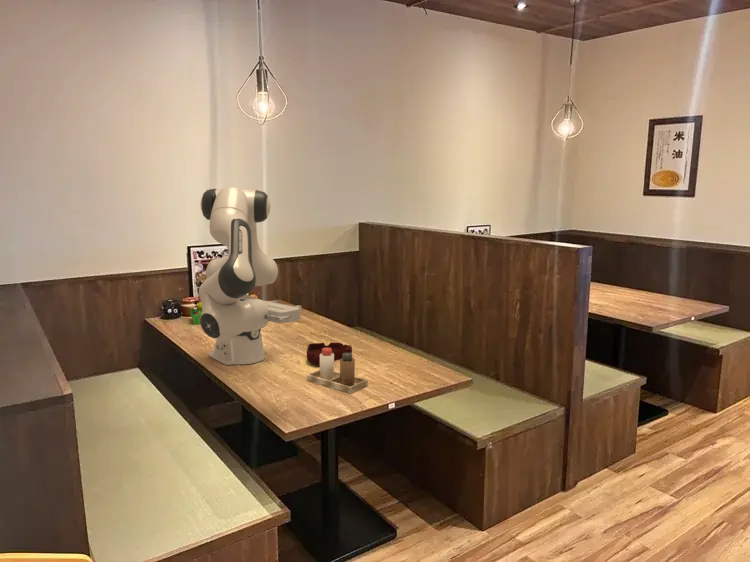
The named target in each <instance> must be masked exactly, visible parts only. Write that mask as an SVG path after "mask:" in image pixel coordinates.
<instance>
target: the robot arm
mask: <svg viewBox="0 0 750 562" xmlns="http://www.w3.org/2000/svg"><path fill="white" fill-rule="evenodd" d="M200 209H201V214H202V215H203V216H202V217H204V218H205V219H206V220H208V221H209V234H210V235H211V237H212V238H213V240H215V241H216V242H217V243H219V244H221V245H224V246H225V247H226V248H227V249H228V256H227V257H219V258H216V259H215V258H214V259H211V261H209V262H208V264H207V266H206V270H205V275H206V278H207V279H206V280H204V281H203V282H202V283H201V284H200V286H199V287H198V298H199V302H201V303H202V315H201V317H200V324H199V325H200V326H201V329H202V331H203V332H204V334H205V335H207V336H208V337H209V338H213V339H216V340H215V342H214V344H215V345H214V350H211V351H210V352H209V353H208V357H210V358H212V359H214V360H215V361H217V362H218V363H222V364H223V365H225V366H234V365H250V364H255V363H259V362H261V361H263V360H264V359H265V358H266V355H265V354H266V350H265V349H264V343H263V337H262V333H261V331H262V329H264V328H265V327H266V326H267V324H268V323H269V322H272V323H276V324H289V323H294V322H297V321H300V319H301V312H302V311H303V310H302V305H299V304H298V305H294V306H292V305H288V304H283V303H280V301H278V300H274V301H271V300H270V301H269V300H263V299H260V298H255V297H253V296H252V295H250V294H249V293H252V291H253V290H254V288H255V287H263V286H267V285H271V284H273V283H274V282H276V280H277V278H278V275H279V267H278V265H277V263H276V261H275V260H274V259H273V258H272V257H270V256H268V255H266V254H265V253H264V251H262V249H261V247H260V245H259V241H258V231H257V223H261V222H265V221H266V220H267V219H268V217H269V216H270V215H269V214H270V212H271V202H270V199H269V195H268V194H267V193H266V192H265V191H262V190H258V189H256V190H252V189H247V188H239V187H235V186H225V187H223V188H219V189H217V188H211V189H210V188H209V189H207V190H205V191H204V192H203V193H202V197H201V199H200Z"/></svg>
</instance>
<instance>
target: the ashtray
mask: <svg viewBox="0 0 750 562" xmlns="http://www.w3.org/2000/svg"><path fill="white" fill-rule="evenodd" d="M326 347H328V348H332V353H333V354H334V362H335V361H338V360H339V361H340V359H342V354H343V353H352V354H353V348H352V345H349V344H346V343H345V344H343V343H341V342H329V344H328V345H326V344H325V343H324V342H311V343H309V344H308V345H307V348H306V358H307V361H308V362H310V363H311V364H314V365H315V366H317V367H318V368H320V354H321V353H322V348H326Z"/></svg>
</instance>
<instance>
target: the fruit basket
mask: <svg viewBox="0 0 750 562" xmlns="http://www.w3.org/2000/svg"><path fill="white" fill-rule="evenodd" d="M201 315H202V303H201V301H199V302H198V304H197V308H193V309H190V317H191V320H192V322H193V324H194V326H195V325H201V324H200V317H201Z"/></svg>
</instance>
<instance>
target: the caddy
mask: <svg viewBox="0 0 750 562" xmlns="http://www.w3.org/2000/svg"><path fill="white" fill-rule="evenodd" d="M306 382H310V383H313V384H316V385H319V386H323V387H326V388H329V389H332V390H335V391H339V392H343V393H345V394H349V395H351V394H354V393H355V392H358V391H360V390H362V389H364V388H366V387H368V386H369V385H368V383H369V380H368V379H365V378H362V377H359V376H355V385H353V386H346V385H343V384H340V371H337V370H334V378H333V379H331V380H326V379H322V378H320V369H318V370H316V371H313V372H311V373H309V374H308V373H307V374H306Z"/></svg>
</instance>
